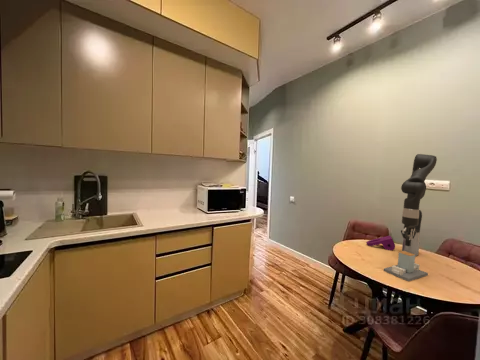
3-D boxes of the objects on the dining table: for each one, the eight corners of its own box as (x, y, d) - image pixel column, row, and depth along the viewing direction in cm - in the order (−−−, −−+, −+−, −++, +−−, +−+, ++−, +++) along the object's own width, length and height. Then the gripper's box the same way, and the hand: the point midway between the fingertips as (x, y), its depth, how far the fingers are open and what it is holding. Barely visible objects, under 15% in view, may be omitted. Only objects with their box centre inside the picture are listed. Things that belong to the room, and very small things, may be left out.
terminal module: (402, 267, 130) (403, 250, 130) (413, 272, 125) (415, 254, 124) (397, 268, 128) (398, 251, 128) (408, 273, 123) (410, 255, 122)
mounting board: (402, 266, 137) (403, 258, 137) (427, 275, 125) (428, 267, 125) (383, 270, 128) (384, 263, 128) (408, 281, 116) (409, 273, 116)
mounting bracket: (371, 254, 170) (397, 249, 163) (366, 244, 172) (392, 238, 164) (370, 250, 179) (394, 245, 171) (365, 241, 180) (390, 235, 172)
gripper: (411, 218, 119) (408, 249, 120) (424, 217, 125) (421, 246, 125) (396, 215, 126) (394, 244, 126) (409, 214, 131) (407, 242, 132)
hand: (407, 245), depth 126 cm, fingers closed
